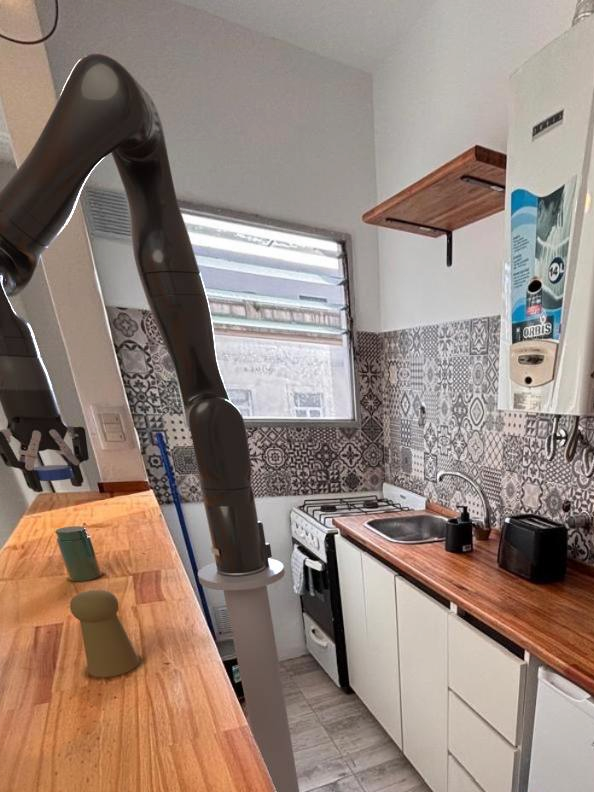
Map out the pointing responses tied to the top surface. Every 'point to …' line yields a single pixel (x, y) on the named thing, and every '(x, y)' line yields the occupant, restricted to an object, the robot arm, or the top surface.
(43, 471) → the jar lid
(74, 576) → the jam jar
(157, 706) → the top surface
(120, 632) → the cork
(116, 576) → the top surface
